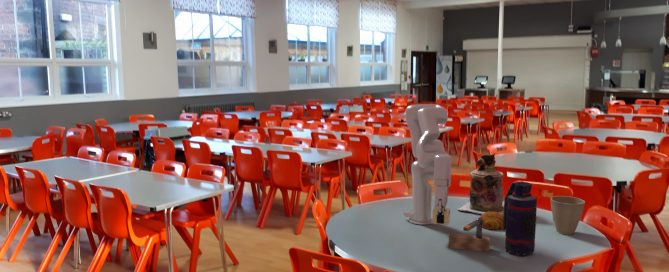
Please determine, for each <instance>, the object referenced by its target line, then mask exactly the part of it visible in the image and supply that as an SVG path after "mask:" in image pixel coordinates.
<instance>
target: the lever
mask: <svg viewBox="0 0 669 272" xmlns="http://www.w3.org/2000/svg"><path fill="white" fill-rule="evenodd" d="M480 224H483V219H481V218H479V217H477V218H475V220H473V221H472V222H470V223H468V224H466V225H464V226H463V228H462V230H463V231H465V232H470V231H471V230H473V229H475V228H476V226H478V225H480Z"/></svg>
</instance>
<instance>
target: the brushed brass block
mask: <svg viewBox="0 0 669 272" xmlns="http://www.w3.org/2000/svg"><path fill="white" fill-rule="evenodd" d="M441 210H442V209H441ZM443 215H444V224H439V223H437V207H436V208H434V207H433V210H432V218H433V221H432V224H433V225H443V226H449V224H450V222H451V208H447V207H446V208H444V214H443ZM432 224H431V225H432Z"/></svg>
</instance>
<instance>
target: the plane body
mask: <svg viewBox="0 0 669 272" xmlns="http://www.w3.org/2000/svg"><path fill="white" fill-rule="evenodd" d="M475 228H476V229H475V235H473V234H472V235H471V234H464V233H463V234H461V233H453V232H450V233H449V235H448V248H449V249H458V250H466V251H467V250H468V251H477V252H478V251H479V252H486V253H489V252H490V245H491V244H490V242H491V241H490V239H491V237H490V236H483V227H482V224H480V225H478V226H476V227H475Z"/></svg>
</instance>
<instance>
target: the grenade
mask: <svg viewBox="0 0 669 272" xmlns="http://www.w3.org/2000/svg"><path fill="white" fill-rule="evenodd" d="M532 187H533V184H531V183H530V182H528V181H523V180H520V181H514V182H511V183H510V185H509V187H508V190H507V192H506V194H505V196H504V198H503V202H504V203H503V204H504V214H503V229H502V230H505V233H504V234H505V235H504V236H505V237H504V250H505V251H506V253H512V254H516V255H517V257H523V258H524V257H525V255H530V254H531V255H532V254H534V252H535V246H536V229H537V228H536V225H537V209H538V208H537V206H538V197H536V196H534V195H533V194H532V193H531V191H532Z"/></svg>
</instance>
